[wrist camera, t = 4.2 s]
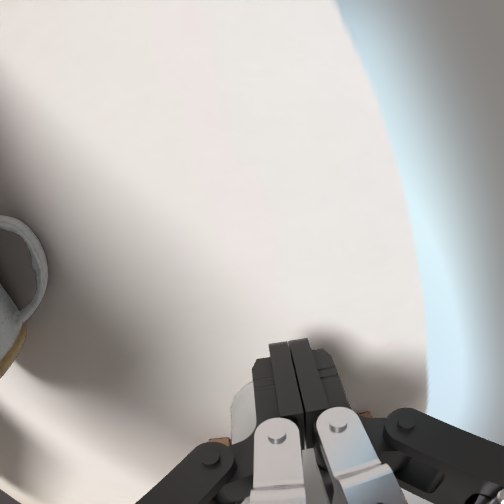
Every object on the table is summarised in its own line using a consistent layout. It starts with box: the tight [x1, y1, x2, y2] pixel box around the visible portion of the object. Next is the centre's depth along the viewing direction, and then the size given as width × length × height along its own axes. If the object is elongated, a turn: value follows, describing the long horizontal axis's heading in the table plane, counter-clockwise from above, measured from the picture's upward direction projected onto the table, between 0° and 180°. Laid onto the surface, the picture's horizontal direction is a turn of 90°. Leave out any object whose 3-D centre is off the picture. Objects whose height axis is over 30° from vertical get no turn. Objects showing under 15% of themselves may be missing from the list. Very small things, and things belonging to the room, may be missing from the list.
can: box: [231, 381, 349, 504], centre depth 14 cm, size 8×8×12 cm
